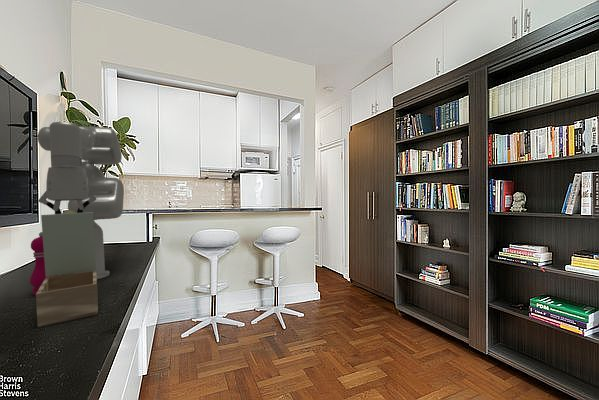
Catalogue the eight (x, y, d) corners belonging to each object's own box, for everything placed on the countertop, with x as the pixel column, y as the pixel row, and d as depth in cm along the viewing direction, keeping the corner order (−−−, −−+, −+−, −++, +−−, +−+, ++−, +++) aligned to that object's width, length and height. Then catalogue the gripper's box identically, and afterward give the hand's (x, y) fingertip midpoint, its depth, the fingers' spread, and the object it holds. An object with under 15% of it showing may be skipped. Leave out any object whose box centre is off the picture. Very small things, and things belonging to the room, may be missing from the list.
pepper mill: (43, 296, 94) (39, 233, 93) (24, 295, 95) (21, 233, 95) (65, 289, 101) (62, 230, 101) (48, 288, 103) (44, 230, 102)
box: (47, 305, 86) (45, 277, 86) (97, 295, 93) (96, 270, 93) (37, 327, 71) (35, 294, 71) (98, 314, 78) (96, 284, 78)
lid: (45, 277, 86) (48, 270, 91) (96, 269, 93) (95, 263, 98) (40, 213, 84) (43, 210, 89) (93, 210, 90) (92, 207, 96)
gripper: (99, 165, 99) (102, 220, 99) (32, 164, 90) (35, 225, 90) (100, 163, 93) (102, 221, 93) (28, 161, 84) (31, 226, 84)
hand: (69, 222), depth 92 cm, fingers closed on lid, 4 cm apart
